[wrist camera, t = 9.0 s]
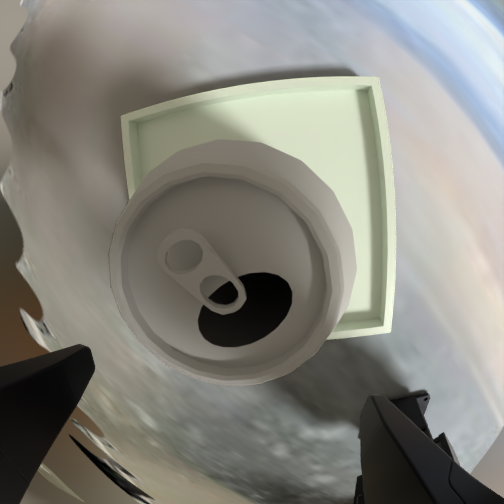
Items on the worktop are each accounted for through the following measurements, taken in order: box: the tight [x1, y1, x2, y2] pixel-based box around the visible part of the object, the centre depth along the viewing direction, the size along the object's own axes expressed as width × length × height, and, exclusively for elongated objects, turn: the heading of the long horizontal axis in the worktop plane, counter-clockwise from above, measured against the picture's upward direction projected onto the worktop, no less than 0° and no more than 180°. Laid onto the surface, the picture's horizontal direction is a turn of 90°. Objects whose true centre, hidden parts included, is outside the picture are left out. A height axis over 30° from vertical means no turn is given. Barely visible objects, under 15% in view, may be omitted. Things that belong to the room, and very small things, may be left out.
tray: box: [121, 76, 396, 340], centre depth 18 cm, size 17×17×2 cm
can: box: [109, 139, 357, 386], centre depth 12 cm, size 8×8×12 cm
